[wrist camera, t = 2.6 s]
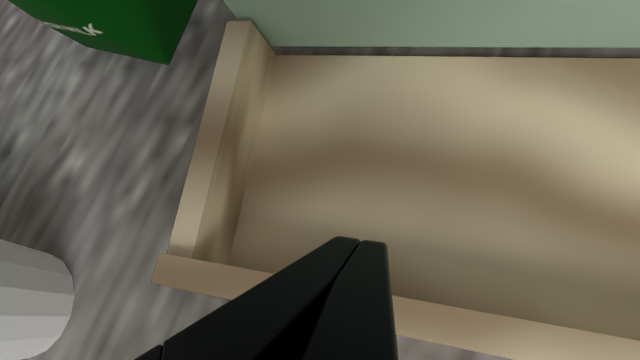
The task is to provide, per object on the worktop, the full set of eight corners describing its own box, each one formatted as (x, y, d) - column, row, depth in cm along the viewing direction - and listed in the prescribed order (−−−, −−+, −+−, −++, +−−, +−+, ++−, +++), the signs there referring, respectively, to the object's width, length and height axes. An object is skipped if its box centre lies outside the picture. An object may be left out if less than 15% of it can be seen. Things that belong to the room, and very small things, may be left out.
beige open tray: (751, 402, 16) (852, 431, 12) (215, 292, 24) (151, 282, 19) (746, 78, 19) (826, 1, 15) (267, 68, 26) (221, 14, 22)
